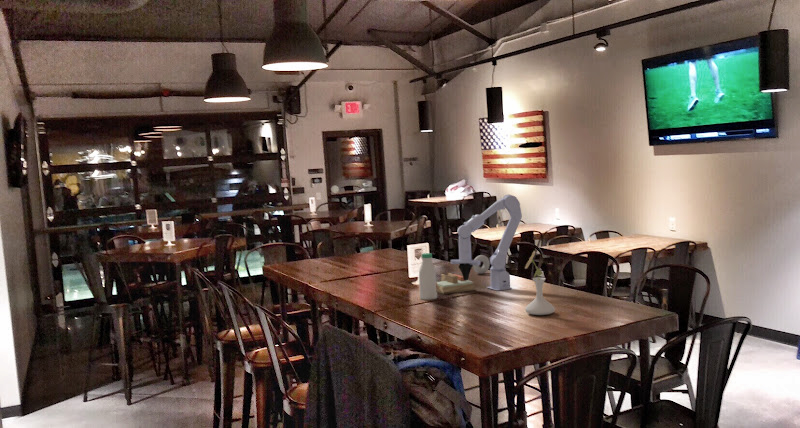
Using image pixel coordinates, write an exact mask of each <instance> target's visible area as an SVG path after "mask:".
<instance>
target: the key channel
mask: <svg viewBox="0 0 800 428" xmlns="http://www.w3.org/2000/svg"><path fill="white" fill-rule="evenodd" d="M450 274H452V273H451V272H447V274H443V273H441V274H440V281H447V276H446V275H450Z"/></svg>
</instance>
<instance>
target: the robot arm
mask: <svg viewBox="0 0 800 428" xmlns="http://www.w3.org/2000/svg"><path fill="white" fill-rule="evenodd" d="M521 208H522V207H521V203H520V201H519V199H518V198H517V196H514V195H512V194H505V195H504V196H503V197H501V198H499V199H498V200H496V201H495V202H494V203H492V204H491V205H490V206H489V207H488V208H486V209H485V210H484V211H483V212H482V213H480V214H475V215H474V214H472V216H471V218H469V220H467V221H464V222H463V224H462V225H460V226H458V228H457V234H458V259H450V265H458V269H459V271H460V272H461V274H462V275H461V276H463V278H464V280H468V281H469V278H470V274H471V270H472V269H473V265H479V266H481V263H482V261H478V260H474V259H472V241H471V235H472V233H475V232H476V231H477V230H479V228H481V227H482V226H484V224H485V220H487V219H489V217H491V216H492V215H494V214H495V213H497V211H501V210H507V213H508V214H509V219H508V221H507V225H506V226H505V229H504V231H503V233H502V236H501V238H500V241H499V243H498V246H497V248H496V249H495V251H494V253H493V254H492V255H491V256H490V258H489V262H490V265H491V267H489V271H490V272H489V273H490V274H489V275H490V276H489V277H490V278H489V279H490V286H486V288H487V289H491V290H494V291H505V290H511V289H513V288H512V287H511V275H510V273H509V271H507V269H506V263H507V262H506V259H507V257H508V251H509V249H510V246H511V244H512V241H513V239H514V237H515V234H516V232H517V230H518V227H519V225H520V223H521V219H522V217H523V213H522V209H521Z"/></svg>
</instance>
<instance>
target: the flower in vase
mask: <svg viewBox="0 0 800 428" xmlns="http://www.w3.org/2000/svg"><path fill="white" fill-rule="evenodd" d="M535 256H536V251H535V250H533V252H532V253H531V256H530V257H529V258H528V259H529V260H527V262H526V264H525V266H524V269H525V270H526V269H528V268H529V266H531V265H530V264H531V263H533V264H534V267H535V268H536V271H535V273H534V274H533V277H532V281H534V284H535V290H536V294H535V295H536V296H535V298H534V299H533V300H532V301H530V303H528V305H526V306H525V308H524V311H525V312H526V313H527V314H530V315H536V316H545V315H551V314H552V313H554V312H555V311H556V308H555V306H553V304H551V303H550V302H549V301H547V300H546V299H545V298H544V296H543V295H544V294H543V288H544V284H545V281H546V277H540V276H542V275H543V272H542V270H541V269H540V267H539V268H538V267H537V265H536V263H535V261H534V257H535ZM536 276H537V277H536Z"/></svg>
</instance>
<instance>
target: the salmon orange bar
mask: <svg viewBox="0 0 800 428" xmlns="http://www.w3.org/2000/svg"><path fill="white" fill-rule="evenodd" d="M451 274H452V275H456V276H458V280H460V281H464V278H463V275H460V274H456V273H451Z"/></svg>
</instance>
